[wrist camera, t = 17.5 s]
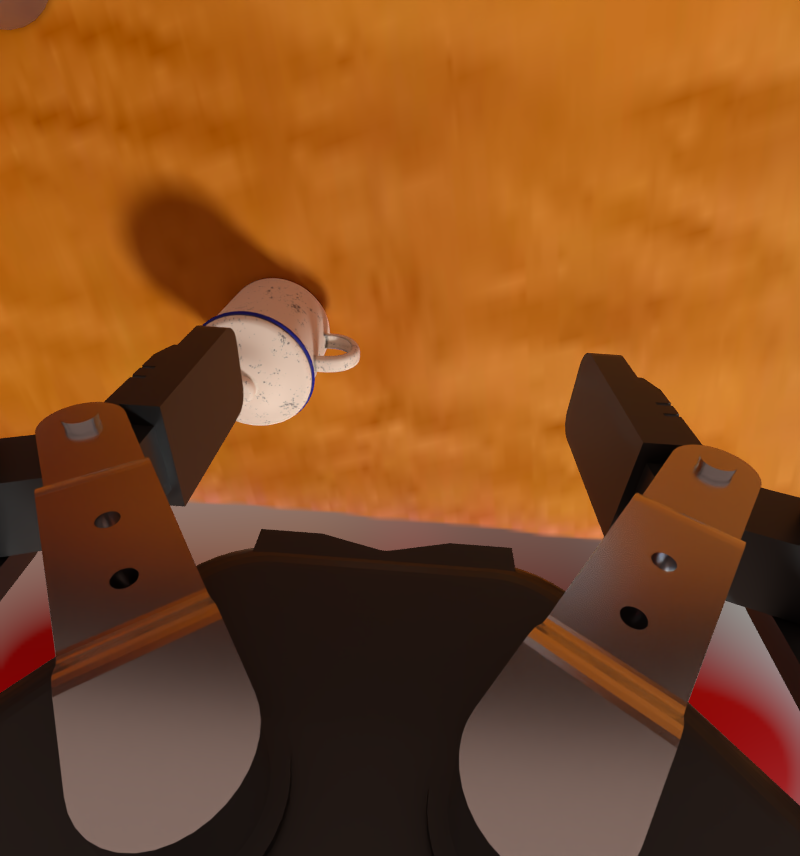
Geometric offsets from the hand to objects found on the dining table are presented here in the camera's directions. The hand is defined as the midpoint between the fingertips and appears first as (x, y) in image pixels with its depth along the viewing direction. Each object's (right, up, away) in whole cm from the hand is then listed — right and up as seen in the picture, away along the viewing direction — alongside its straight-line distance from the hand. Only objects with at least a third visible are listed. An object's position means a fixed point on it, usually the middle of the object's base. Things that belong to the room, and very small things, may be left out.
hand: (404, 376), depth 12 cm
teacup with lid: (-9, +8, +32) cm, 34 cm away
